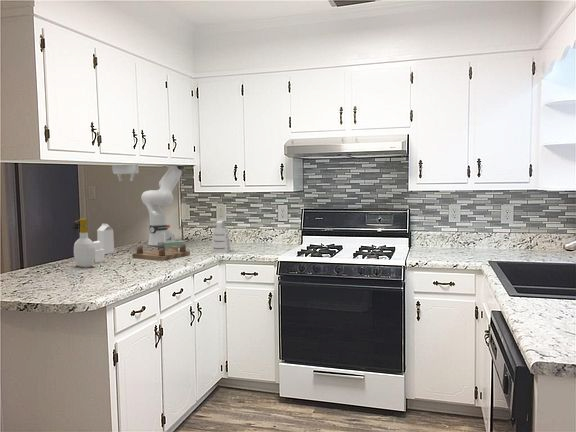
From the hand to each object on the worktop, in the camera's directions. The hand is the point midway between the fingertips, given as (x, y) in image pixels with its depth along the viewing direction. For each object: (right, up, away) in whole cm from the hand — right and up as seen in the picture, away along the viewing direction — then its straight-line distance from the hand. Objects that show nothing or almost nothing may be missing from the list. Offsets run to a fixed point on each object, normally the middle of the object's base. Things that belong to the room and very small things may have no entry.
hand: (125, 181), depth 316 cm
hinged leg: (+31, -44, -7) cm, 54 cm away
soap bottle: (-4, -51, -55) cm, 75 cm away
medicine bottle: (-4, -50, -40) cm, 64 cm away
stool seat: (+29, -48, -22) cm, 60 cm away
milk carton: (-9, -47, -9) cm, 49 cm away
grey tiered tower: (+63, -46, -3) cm, 78 cm away
